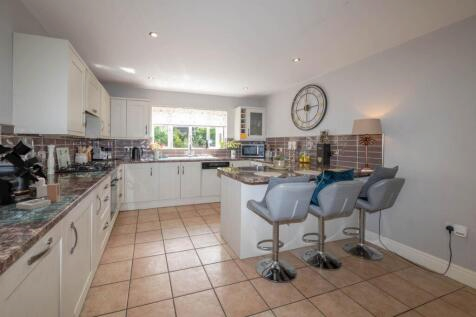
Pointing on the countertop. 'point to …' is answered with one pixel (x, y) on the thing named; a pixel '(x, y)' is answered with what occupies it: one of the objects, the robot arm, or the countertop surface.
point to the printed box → (38, 189)
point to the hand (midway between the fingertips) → (42, 179)
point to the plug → (53, 192)
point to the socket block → (33, 204)
